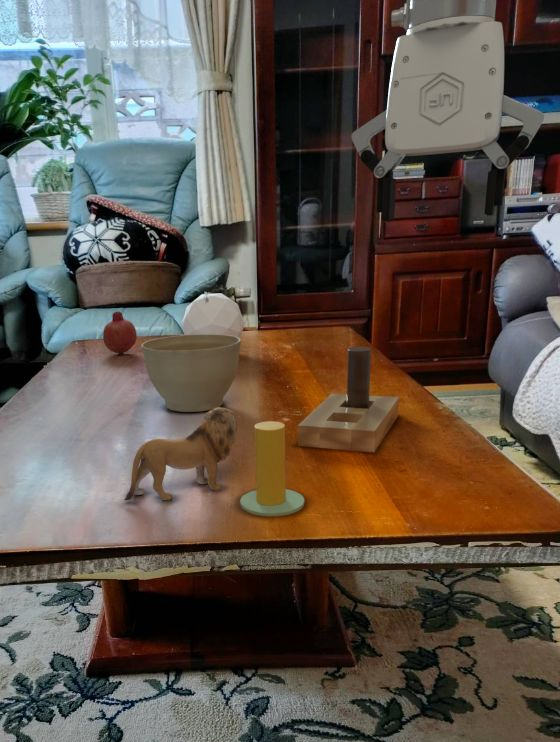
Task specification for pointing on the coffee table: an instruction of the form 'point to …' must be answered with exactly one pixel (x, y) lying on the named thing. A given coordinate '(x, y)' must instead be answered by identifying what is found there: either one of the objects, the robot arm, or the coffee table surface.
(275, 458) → the yellow peg
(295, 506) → the coaster
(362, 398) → the walnut peg
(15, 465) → the coffee table surface
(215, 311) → the geodesic sphere
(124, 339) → the fruit
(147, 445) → the lion figurine
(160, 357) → the planter bowl
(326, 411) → the stand
